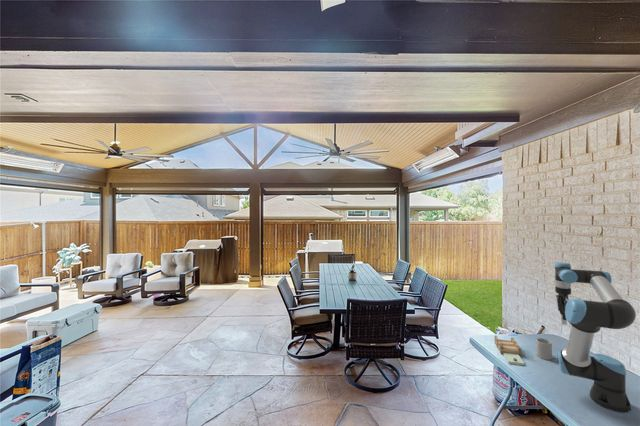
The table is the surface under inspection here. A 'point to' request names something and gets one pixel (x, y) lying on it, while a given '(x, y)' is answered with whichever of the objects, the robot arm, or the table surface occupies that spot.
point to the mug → (544, 348)
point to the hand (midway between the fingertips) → (563, 324)
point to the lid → (513, 359)
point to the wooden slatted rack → (508, 346)
